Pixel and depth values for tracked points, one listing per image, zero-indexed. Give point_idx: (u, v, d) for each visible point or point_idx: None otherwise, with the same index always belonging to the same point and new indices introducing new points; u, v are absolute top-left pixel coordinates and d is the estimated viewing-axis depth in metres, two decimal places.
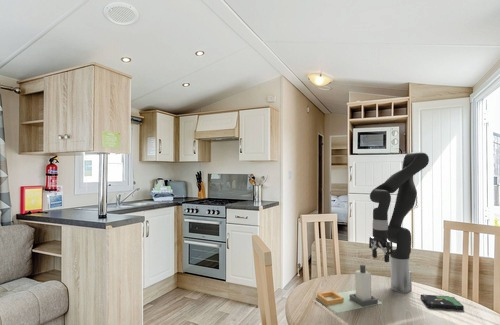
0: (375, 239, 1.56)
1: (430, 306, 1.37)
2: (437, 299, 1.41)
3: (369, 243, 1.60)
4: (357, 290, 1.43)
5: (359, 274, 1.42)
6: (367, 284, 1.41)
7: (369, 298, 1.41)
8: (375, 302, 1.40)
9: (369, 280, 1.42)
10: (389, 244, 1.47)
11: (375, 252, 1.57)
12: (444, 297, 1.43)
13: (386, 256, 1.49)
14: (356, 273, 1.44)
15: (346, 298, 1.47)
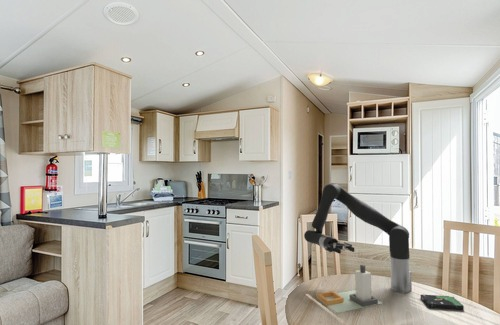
0: None
1: (430, 306, 1.37)
2: (437, 299, 1.41)
3: None
4: (357, 290, 1.43)
5: (359, 274, 1.42)
6: (367, 284, 1.41)
7: (369, 298, 1.41)
8: (375, 302, 1.40)
9: (369, 280, 1.42)
10: (325, 248, 1.61)
11: (349, 248, 1.58)
12: (444, 297, 1.44)
13: (335, 251, 1.55)
14: (356, 273, 1.44)
15: (346, 298, 1.47)
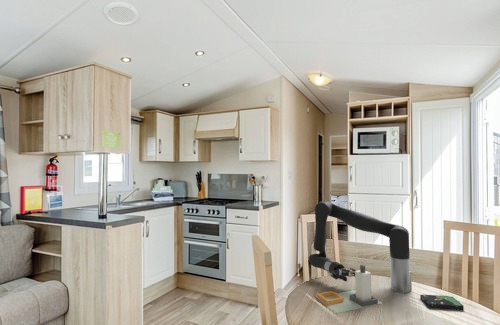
0: None
1: (430, 306, 1.37)
2: (437, 299, 1.41)
3: None
4: (357, 290, 1.43)
5: (359, 274, 1.42)
6: (367, 284, 1.41)
7: (369, 298, 1.41)
8: (375, 302, 1.40)
9: (369, 280, 1.42)
10: (330, 274, 1.56)
11: None
12: (443, 297, 1.44)
13: None
14: (356, 273, 1.44)
15: (346, 298, 1.47)
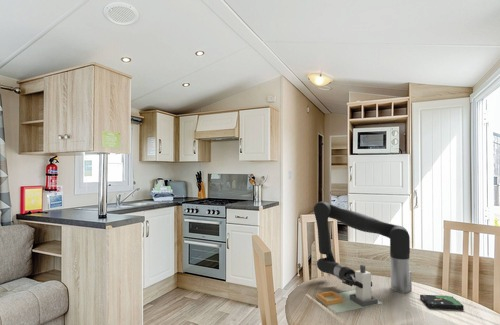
0: None
1: (431, 306, 1.37)
2: (437, 299, 1.41)
3: None
4: (357, 290, 1.43)
5: (359, 274, 1.42)
6: (367, 284, 1.41)
7: (369, 298, 1.41)
8: (375, 302, 1.40)
9: (369, 280, 1.41)
10: (343, 281, 1.47)
11: None
12: (443, 297, 1.44)
13: (356, 285, 1.42)
14: (356, 273, 1.44)
15: (346, 298, 1.47)
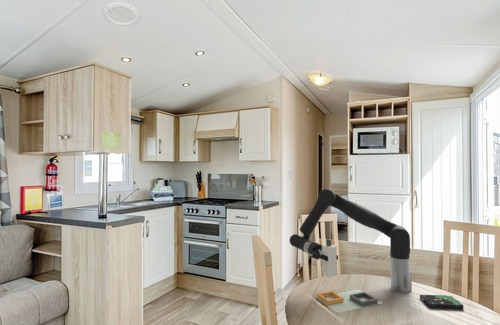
0: None
1: (431, 306, 1.37)
2: (437, 299, 1.42)
3: None
4: (323, 263, 1.46)
5: (325, 247, 1.44)
6: (333, 257, 1.43)
7: (335, 271, 1.43)
8: (375, 302, 1.40)
9: (334, 253, 1.44)
10: (310, 255, 1.49)
11: None
12: (443, 296, 1.44)
13: (322, 258, 1.45)
14: (322, 247, 1.46)
15: (346, 298, 1.47)
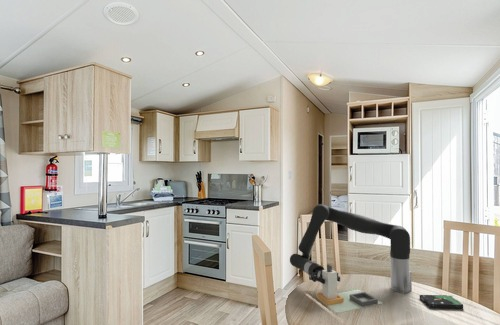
0: None
1: (431, 306, 1.37)
2: (436, 299, 1.42)
3: None
4: (324, 289, 1.45)
5: (325, 273, 1.44)
6: (333, 283, 1.43)
7: (335, 297, 1.43)
8: (375, 302, 1.40)
9: (335, 279, 1.43)
10: (309, 277, 1.50)
11: None
12: (442, 296, 1.44)
13: None
14: (323, 272, 1.46)
15: (346, 298, 1.47)
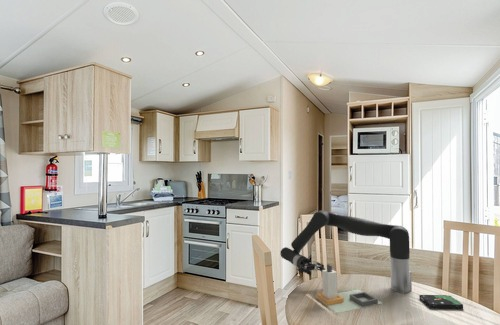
0: None
1: (432, 306, 1.37)
2: (436, 299, 1.42)
3: None
4: (324, 289, 1.45)
5: (325, 273, 1.44)
6: (333, 283, 1.43)
7: (335, 297, 1.43)
8: (375, 302, 1.40)
9: (335, 279, 1.43)
10: (297, 268, 1.62)
11: (321, 268, 1.59)
12: (442, 296, 1.44)
13: (306, 272, 1.56)
14: (323, 272, 1.46)
15: (346, 298, 1.47)
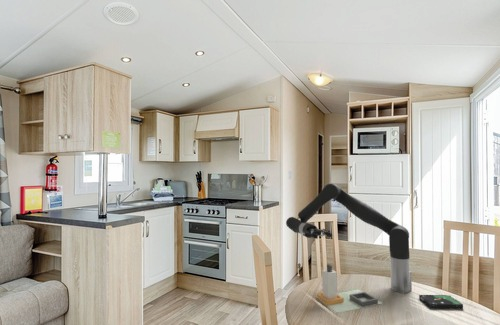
0: None
1: (432, 307, 1.37)
2: (436, 299, 1.42)
3: None
4: (324, 289, 1.45)
5: (325, 273, 1.44)
6: (333, 283, 1.43)
7: (335, 297, 1.43)
8: (375, 302, 1.40)
9: (335, 279, 1.43)
10: (303, 234, 1.61)
11: (327, 233, 1.58)
12: (441, 296, 1.45)
13: (312, 236, 1.56)
14: (323, 272, 1.46)
15: (346, 298, 1.47)
